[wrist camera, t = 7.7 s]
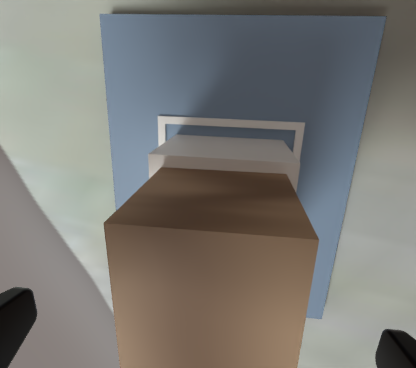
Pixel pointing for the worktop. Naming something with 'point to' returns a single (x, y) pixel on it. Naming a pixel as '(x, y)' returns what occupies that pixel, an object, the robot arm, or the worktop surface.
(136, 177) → the board
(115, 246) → the walnut block
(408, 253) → the worktop surface
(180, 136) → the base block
